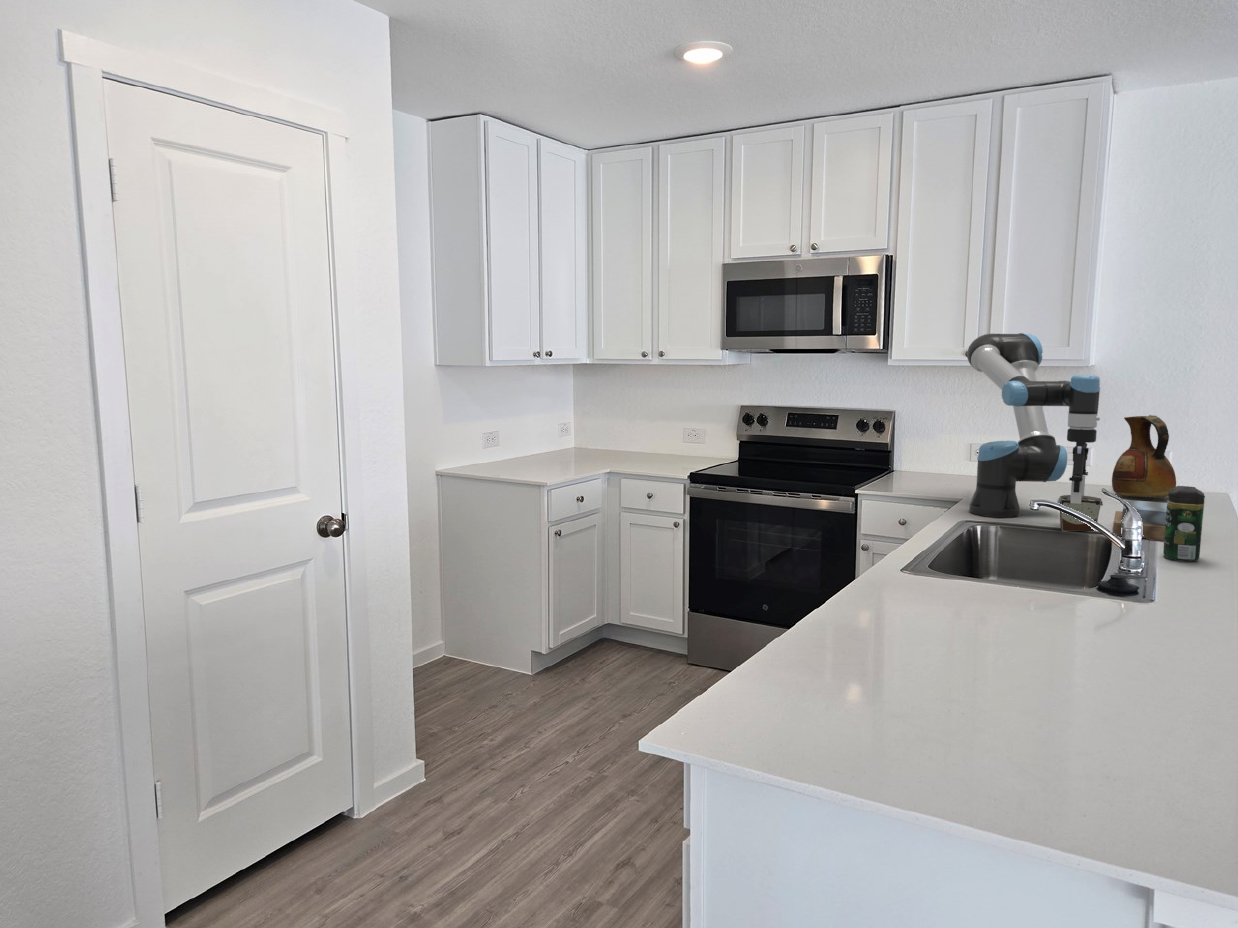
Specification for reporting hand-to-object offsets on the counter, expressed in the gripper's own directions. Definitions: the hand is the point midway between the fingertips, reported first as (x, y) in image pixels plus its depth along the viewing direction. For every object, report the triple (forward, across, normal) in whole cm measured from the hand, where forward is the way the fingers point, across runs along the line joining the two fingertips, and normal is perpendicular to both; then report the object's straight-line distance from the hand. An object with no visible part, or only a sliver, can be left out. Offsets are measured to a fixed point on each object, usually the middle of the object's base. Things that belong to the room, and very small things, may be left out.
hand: (1077, 500), depth 254 cm
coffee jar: (+10, -24, -26) cm, 36 cm away
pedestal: (+9, +6, -20) cm, 23 cm away
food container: (+9, 0, 0) cm, 9 cm away
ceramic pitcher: (+8, +74, -17) cm, 76 cm away
